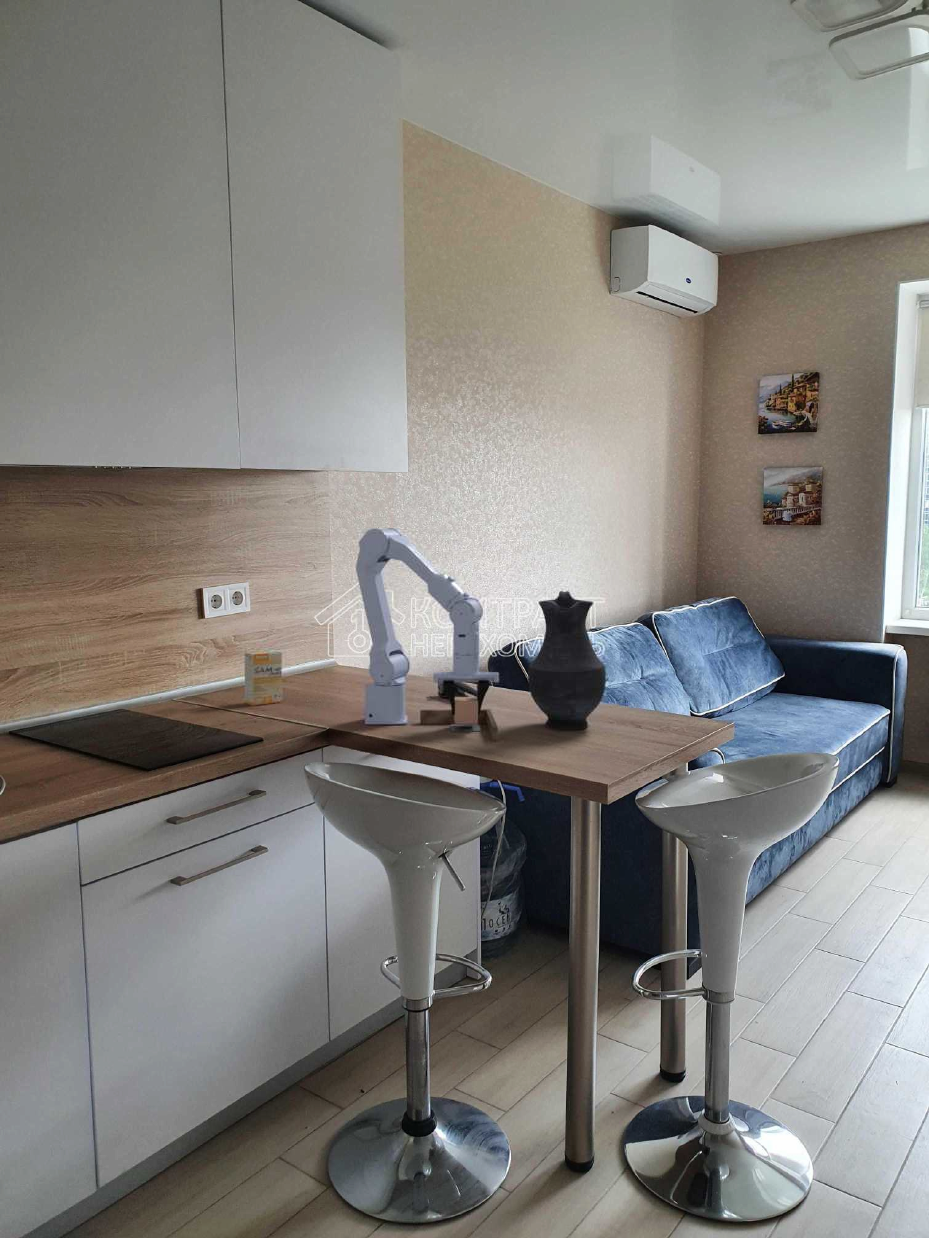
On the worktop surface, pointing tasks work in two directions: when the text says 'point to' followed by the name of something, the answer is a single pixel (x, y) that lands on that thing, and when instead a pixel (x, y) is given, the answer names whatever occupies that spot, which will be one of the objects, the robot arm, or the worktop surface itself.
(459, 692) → the can opener
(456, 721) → the cube
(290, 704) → the worktop surface
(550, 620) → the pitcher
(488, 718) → the arena
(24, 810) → the worktop surface
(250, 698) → the supplement box
